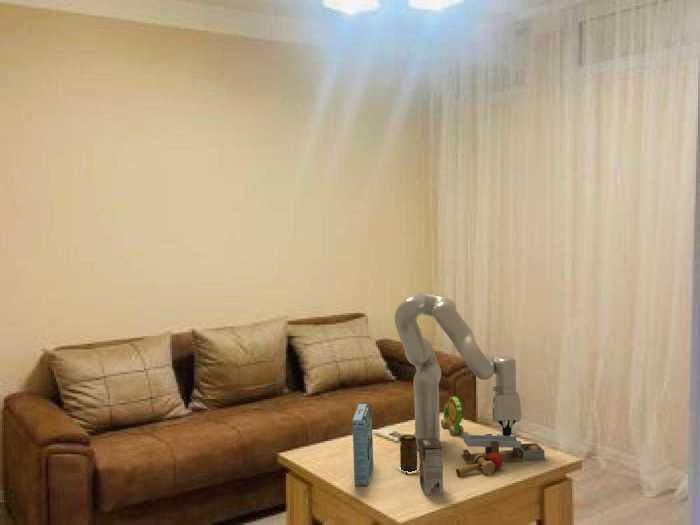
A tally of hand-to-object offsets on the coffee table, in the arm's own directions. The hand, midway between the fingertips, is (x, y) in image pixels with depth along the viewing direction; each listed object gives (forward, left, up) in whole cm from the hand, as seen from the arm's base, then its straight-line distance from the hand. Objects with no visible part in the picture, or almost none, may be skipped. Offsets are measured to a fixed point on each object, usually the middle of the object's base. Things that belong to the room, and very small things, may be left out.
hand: (507, 436), depth 265 cm
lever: (-8, -3, -1) cm, 8 cm away
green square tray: (+7, -6, -6) cm, 11 cm away
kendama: (-16, -18, -6) cm, 25 cm away
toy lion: (-15, +26, -6) cm, 31 cm away
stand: (-8, -6, -6) cm, 11 cm away
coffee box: (-36, -30, -6) cm, 47 cm away
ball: (+8, -6, -4) cm, 11 cm away
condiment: (-40, -12, -6) cm, 42 cm away
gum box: (-56, -14, -6) cm, 58 cm away
